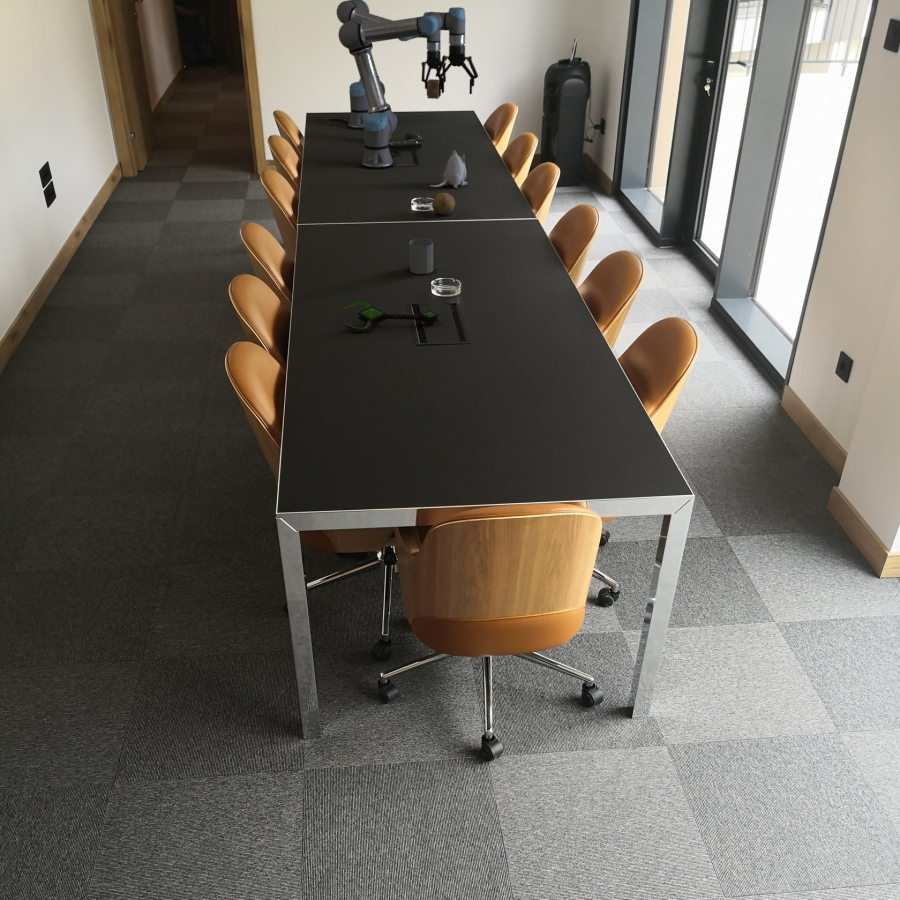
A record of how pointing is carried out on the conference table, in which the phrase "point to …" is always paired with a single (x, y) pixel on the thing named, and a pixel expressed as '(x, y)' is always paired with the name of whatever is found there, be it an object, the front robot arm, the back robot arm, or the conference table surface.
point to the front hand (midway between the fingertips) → (456, 93)
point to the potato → (443, 203)
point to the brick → (433, 89)
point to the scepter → (385, 316)
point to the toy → (454, 171)
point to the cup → (421, 256)
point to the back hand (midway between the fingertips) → (433, 95)
